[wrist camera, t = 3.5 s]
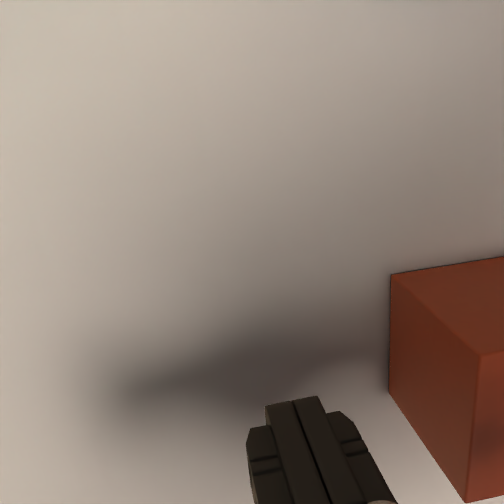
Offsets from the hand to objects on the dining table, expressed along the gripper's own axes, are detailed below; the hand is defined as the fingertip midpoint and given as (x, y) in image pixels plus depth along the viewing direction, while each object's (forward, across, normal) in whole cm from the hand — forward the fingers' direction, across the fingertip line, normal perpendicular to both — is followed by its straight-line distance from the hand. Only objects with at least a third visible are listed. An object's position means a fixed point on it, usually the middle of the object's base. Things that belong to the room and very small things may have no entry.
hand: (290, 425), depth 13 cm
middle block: (+3, -7, 0) cm, 8 cm away
